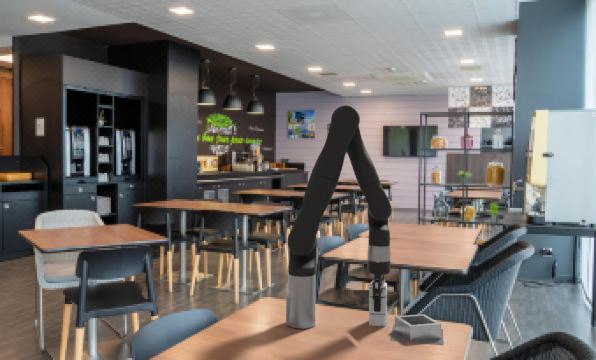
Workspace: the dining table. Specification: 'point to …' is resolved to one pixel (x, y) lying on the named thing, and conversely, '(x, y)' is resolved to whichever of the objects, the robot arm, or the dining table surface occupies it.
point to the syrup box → (381, 316)
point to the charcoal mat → (397, 337)
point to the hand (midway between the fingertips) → (378, 308)
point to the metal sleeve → (417, 327)
